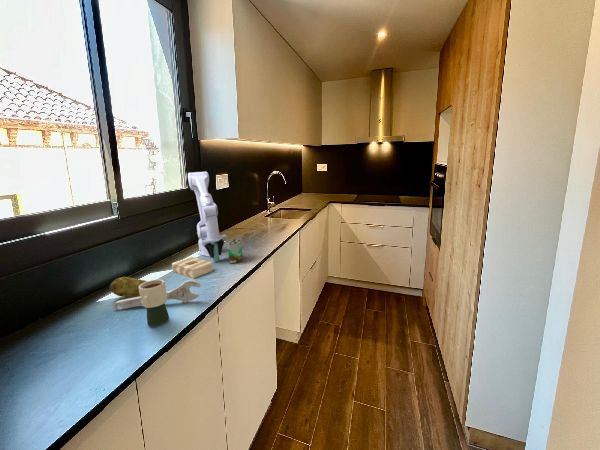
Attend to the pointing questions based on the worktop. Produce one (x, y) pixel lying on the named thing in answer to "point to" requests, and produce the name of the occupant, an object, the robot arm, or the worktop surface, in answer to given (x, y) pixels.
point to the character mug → (154, 301)
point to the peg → (216, 253)
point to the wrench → (177, 293)
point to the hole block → (192, 267)
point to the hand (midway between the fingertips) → (215, 256)
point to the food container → (235, 251)
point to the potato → (126, 287)
